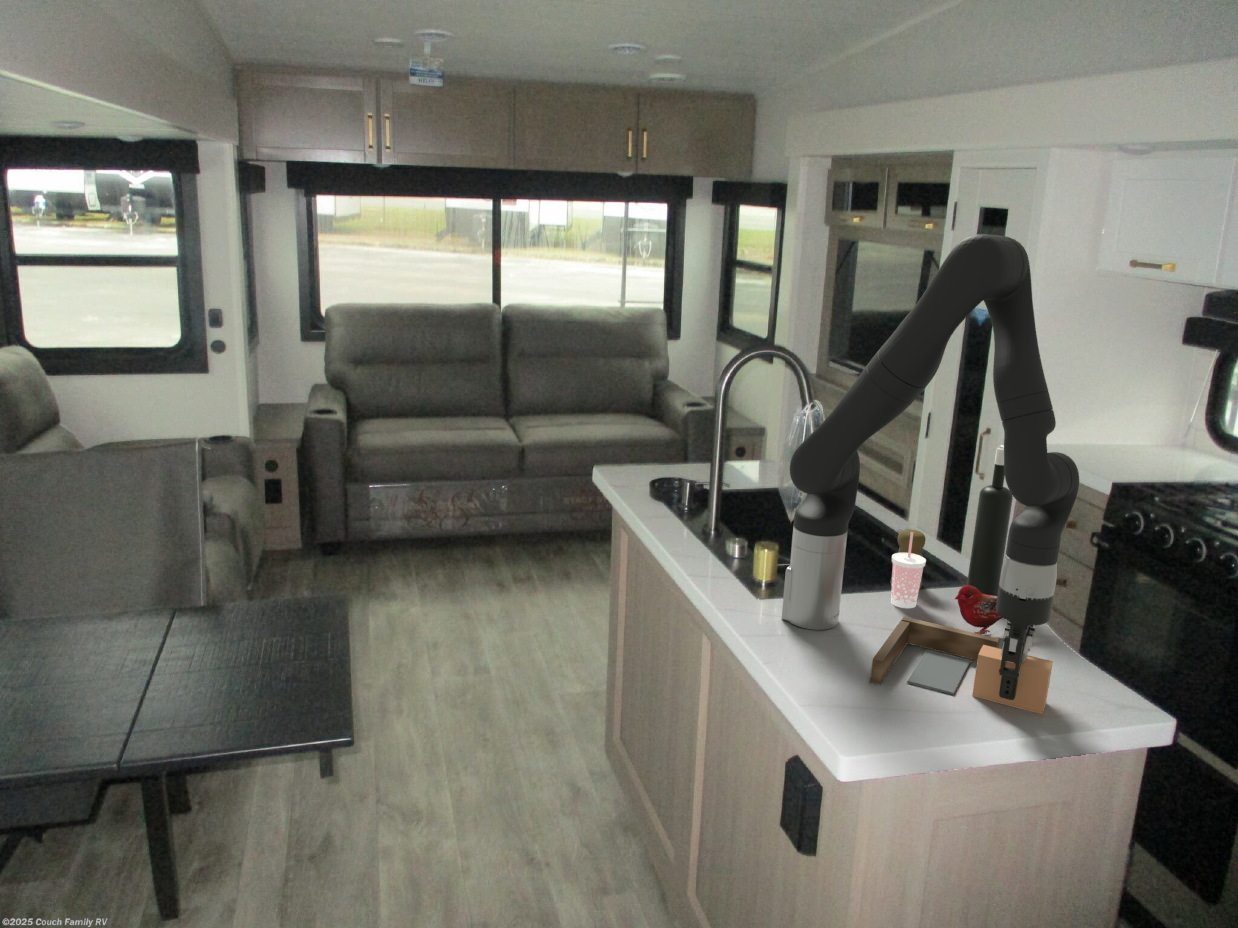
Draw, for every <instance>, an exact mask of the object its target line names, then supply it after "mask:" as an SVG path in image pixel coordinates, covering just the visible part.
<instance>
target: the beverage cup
mask: <svg viewBox="0 0 1238 928" xmlns="http://www.w3.org/2000/svg"><path fill="white" fill-rule="evenodd" d="M912 540H913V532H911V534H910V543H909V551H908V553H898V552H895V553H893V554H892V555H891V563H892V571H891V578H892V584H891V591H890V593H891V595H890V603H891V604H892V605H893V606H895V607H898V608H900V609H914V608H916V607H917V603H918V602H917V601H918V597H919V592H920V589H919V587H920V582H921V577H922V578H923V571H924V567H926V563H927V559H926V558H925V557H923V555H922V556H920V555H916V554H912V553H911V548H912Z"/></svg>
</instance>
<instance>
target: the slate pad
mask: <svg viewBox="0 0 1238 928" xmlns="http://www.w3.org/2000/svg"><path fill="white" fill-rule="evenodd" d="M970 664H971V660H970V659H968V658H964V657H963V658H962V657H960V656H959V657H958V656H956V655H955V656H954V655H952V654H951V655H950V654H948V653H944V652H940V651H938V652H937V651H936V650H932V649H926V650H925V652H924V654H923V655H922V657H921V658H920V660H919V662H917V665H916V666H915V668H914V670H913V671H912V672H911V675H910V676H909V678H908V679H907V684H910V685H914V686H917V687H922V688H924V689H927V690H928V689H929V690H933V691H936V692H940V693H944V694H947V695H952V696H954V695H955V693H956V691H957V689H958V687H959V685H960V684H961V681H962V679H963V677H964V675H965V673H966V671H967V669H968V667H969V665H970Z"/></svg>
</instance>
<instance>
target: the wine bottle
mask: <svg viewBox="0 0 1238 928" xmlns="http://www.w3.org/2000/svg"><path fill="white" fill-rule="evenodd" d="M1004 482H1005V473H1004V444H999V445H996V448H995V457H994V468H993V475H992V481H991V484H990V485H986V486H983V488H981V490H980V492H979V496H978V503H977V509H976V516H975V523H974V524H975V525H974V531H973V540H972V546H971V547H972V548H971V553H970V561H969V567H968V575H967V581H966V585H970V586H973V587H975V588H977V589H978V590H979V591H980V592H981V593H982V594H985V595H992V596H998V590H999V583H1000V576H1001V569H1002V565H1003V562H1004V559H1005V554H1006V547H1007V541H1008V534H1009V527H1010V526H1009V525H1010V517H1011V512H1012V504H1013V498H1014V497H1013V495H1012V494H1011V492H1010V490H1009V488H1008V487H1006V486H1004V484H1005V483H1004Z"/></svg>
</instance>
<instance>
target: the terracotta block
mask: <svg viewBox="0 0 1238 928" xmlns="http://www.w3.org/2000/svg"><path fill="white" fill-rule="evenodd" d="M1001 652H1002V648H995V647H991V646H986V645H983V646H982V648H981V650H980V652H979V654H978V660H976V661H977V662H976V669H975V674H974V681H973V688H972V694H971V695H972V697H975V698H978V699H983V700H987V701H990V702H994V703H998V704H1002V705H1005V706H1010V707H1014V708H1017V709H1021V710H1025V711H1028V712H1032V713H1036V714H1040V715H1043V714H1044V710H1045V708H1046V705H1047V699H1048V695H1049V694H1048V693H1049V688H1050V681H1051V676H1052V669H1053V664H1054V661H1053V660H1048V659H1044V658H1041V657H1036V656H1032V655H1029V654H1027V659H1026V662H1025V663H1024V664H1022V665H1021V669H1020V673H1021V674H1020V676H1019V678H1018V683H1017V689H1016V696H1015V699H1014V700H1008V699H1005V698H1001V697H1000V696H999V691H1000V684H1001V677H1002V675H999V673H1000V672H999V669H1000V666H1001V660H1002V656H1001ZM1015 666H1016V665H1015V663H1012V662H1008V661H1007V666H1006V667H1009V668H1013V669H1015Z"/></svg>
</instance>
